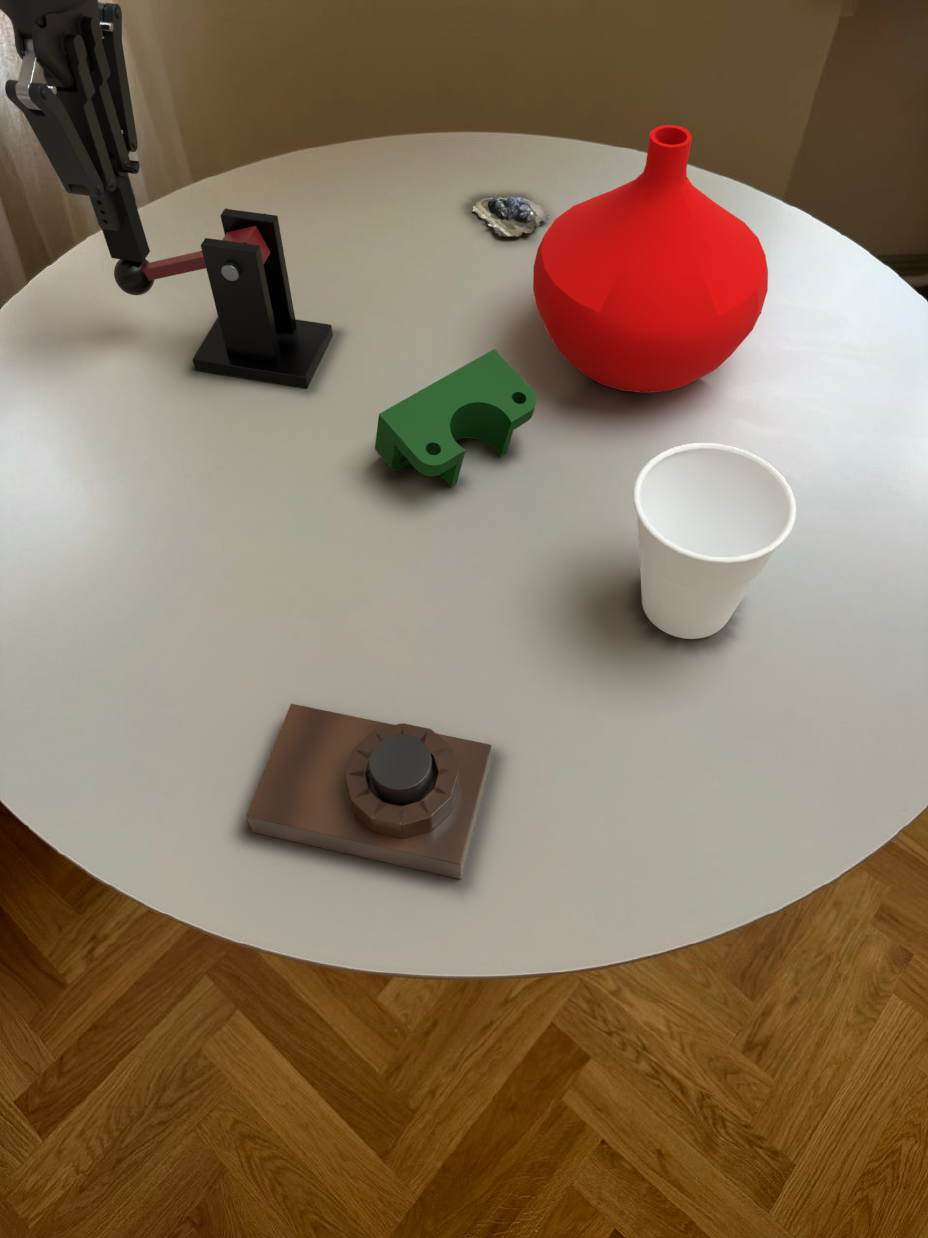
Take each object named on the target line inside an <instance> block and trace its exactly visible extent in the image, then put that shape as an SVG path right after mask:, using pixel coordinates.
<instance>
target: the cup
mask: <svg viewBox="0 0 928 1238" xmlns="http://www.w3.org/2000/svg"><path fill="white" fill-rule="evenodd" d="M632 504H633V508H634V511H635V513H636V517H637V535H638V551H639V568H640V569H639V571H640V590H641V592H640V593H641V606H642V608H643V611H644V613H645V615H646V617H647V618H648V620H649V621H650V623H652V624H653V625H654V626H655V627H656V628H658V629H659V630H660V631H662V632H664V633H666V635H667V634H668V635H670V636H673V637H675V638H681V639H687V640H695V639H696V640H697V639H704V638H707V637H710V636H713V635H714V634H716V633H718V632H719V631H720V630H722V629H723V628H724V627H725V626H726V625H727V623H728V621H729V620H730V619H731V617H732V616H733V614H734V613H735V612H736V610H737V609H738V607H739V605H740V603H741V601H742V600H743V599H744V597H745V595H746V594H747V593H748V592H749V590H750V589H751V587H752V585H753V584H754V582H755V581H756V580H757V577H758V576H759V575H760V573H761V572H762V570H763V568H764V567H765V566H766V565H767V563H768V562H769V560H770V558H771V557H772V556H773V554H774V553H775V551H776V549H778V548H779V547H780V546H781V545H783V544H784V542H785V541H786V540H787V539H788V537H789V536H790V535H791V533H792V531H793V528H794V526H795V523H796V519H797V511H798V510H797V503H796V497H795V495H794V493H793V491H792V488H791V486H790V484H789V483H788V481H787V480H786V478H785V477H784V476H783V474H781V472H779V471H778V470H777V469H776V468H775V467H774V465H772V464H771V463H769V462H768V461H766V459H764V458H762V457H760V456H759V455H757V454H754V453H752V452H750V451H748V450H746V449H742V448H740V447H737V446H734V445H729V444H724V443H717V442H694V443H693V442H692V443H685V444H682V445H677V446H674V447H671V448H669V449H666V450H664V451H662V452H660V453H658V454H657V455H655V456H654V457H653V458H651V459H650V460H649V461H647V463H646V464H644V466H643V467H642V468H641V469H640V471H639V473H638V475H637V477H636V479H635V480H634V486H633V489H632Z"/></svg>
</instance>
